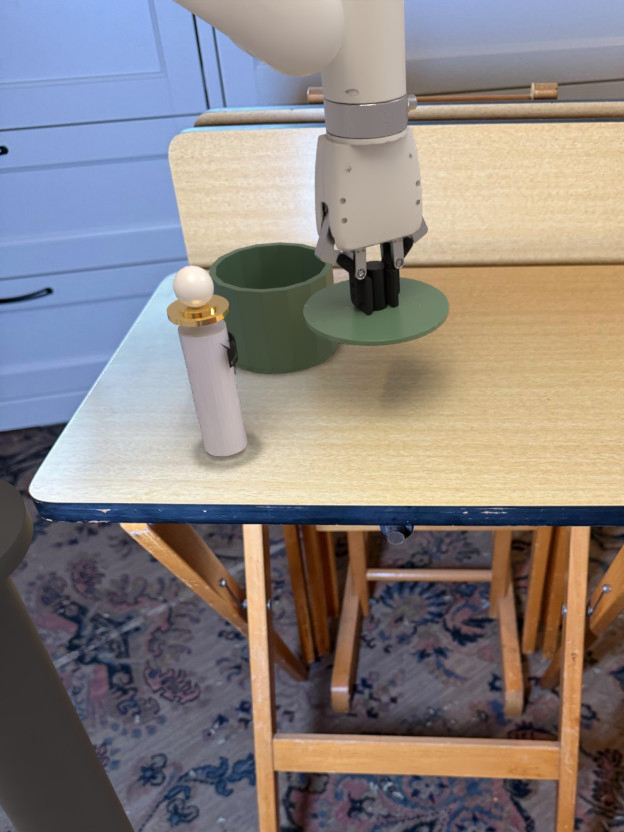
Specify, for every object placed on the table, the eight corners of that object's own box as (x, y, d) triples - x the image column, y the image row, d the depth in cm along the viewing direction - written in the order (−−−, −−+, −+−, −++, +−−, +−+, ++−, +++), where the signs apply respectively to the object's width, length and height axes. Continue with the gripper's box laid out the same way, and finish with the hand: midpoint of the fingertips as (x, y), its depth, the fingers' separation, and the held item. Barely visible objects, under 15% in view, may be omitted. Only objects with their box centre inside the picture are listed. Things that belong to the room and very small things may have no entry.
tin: (252, 385, 95) (238, 302, 88) (207, 338, 104) (191, 260, 97) (358, 352, 100) (353, 271, 93) (306, 309, 110) (298, 233, 103)
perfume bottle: (200, 469, 82) (156, 283, 69) (198, 438, 86) (157, 258, 73) (256, 461, 83) (223, 276, 70) (252, 431, 87) (220, 251, 74)
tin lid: (348, 367, 77) (344, 312, 74) (279, 309, 88) (272, 258, 84) (478, 324, 83) (480, 271, 80) (399, 274, 94) (398, 226, 90)
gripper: (417, 95, 78) (420, 276, 90) (268, 123, 72) (292, 313, 84) (461, 110, 73) (458, 299, 85) (305, 142, 67) (325, 340, 79)
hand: (376, 304), depth 85 cm, fingers closed on tin lid, 2 cm apart
